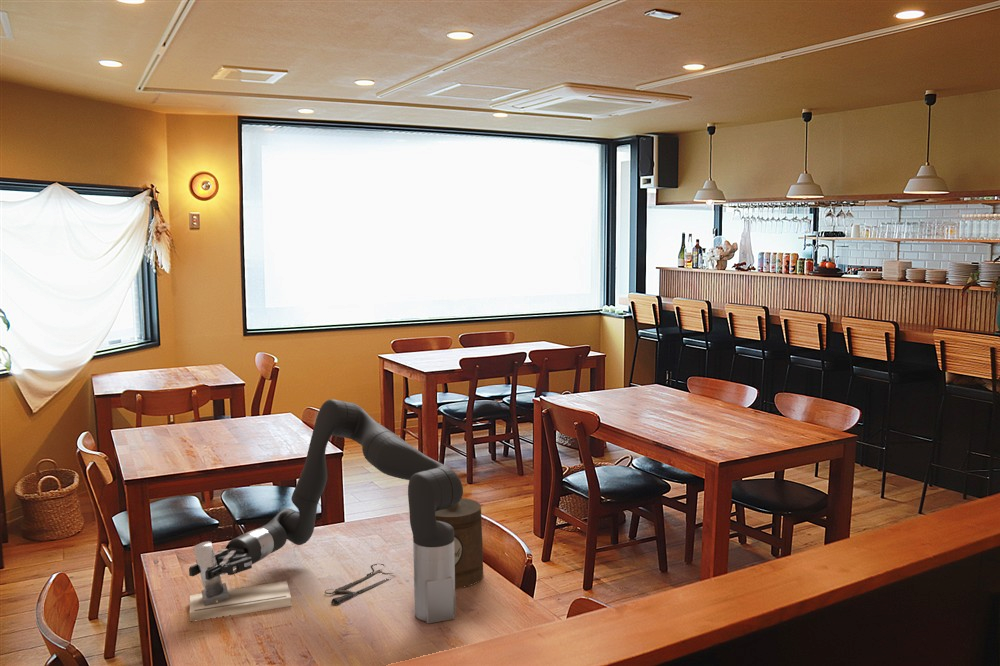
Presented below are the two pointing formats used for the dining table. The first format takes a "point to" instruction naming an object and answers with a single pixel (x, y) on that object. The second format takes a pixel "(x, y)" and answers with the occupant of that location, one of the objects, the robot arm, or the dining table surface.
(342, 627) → the dining table surface
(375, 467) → the robot arm
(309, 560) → the dining table surface
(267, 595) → the birch board
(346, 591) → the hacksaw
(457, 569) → the wooden container
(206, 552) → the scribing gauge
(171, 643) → the dining table surface
